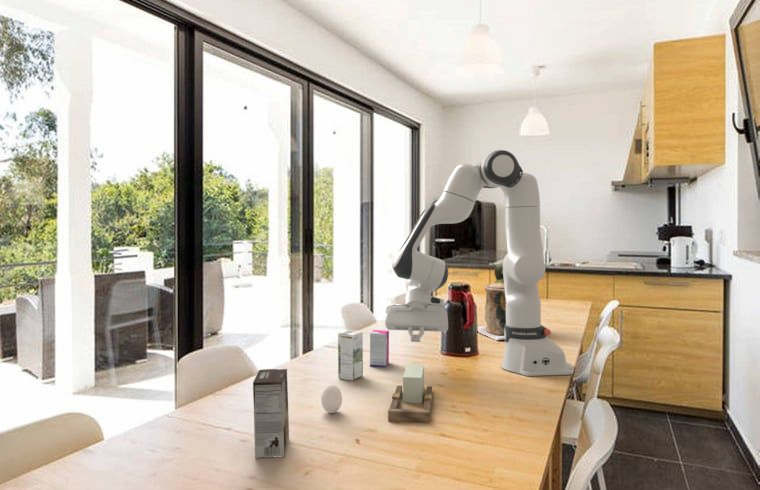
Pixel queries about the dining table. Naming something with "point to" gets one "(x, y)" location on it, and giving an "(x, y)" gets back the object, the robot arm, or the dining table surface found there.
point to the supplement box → (379, 348)
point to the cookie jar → (495, 307)
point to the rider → (413, 384)
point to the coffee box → (271, 413)
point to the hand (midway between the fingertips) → (415, 340)
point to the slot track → (409, 414)
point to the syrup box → (350, 355)
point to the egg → (331, 398)
